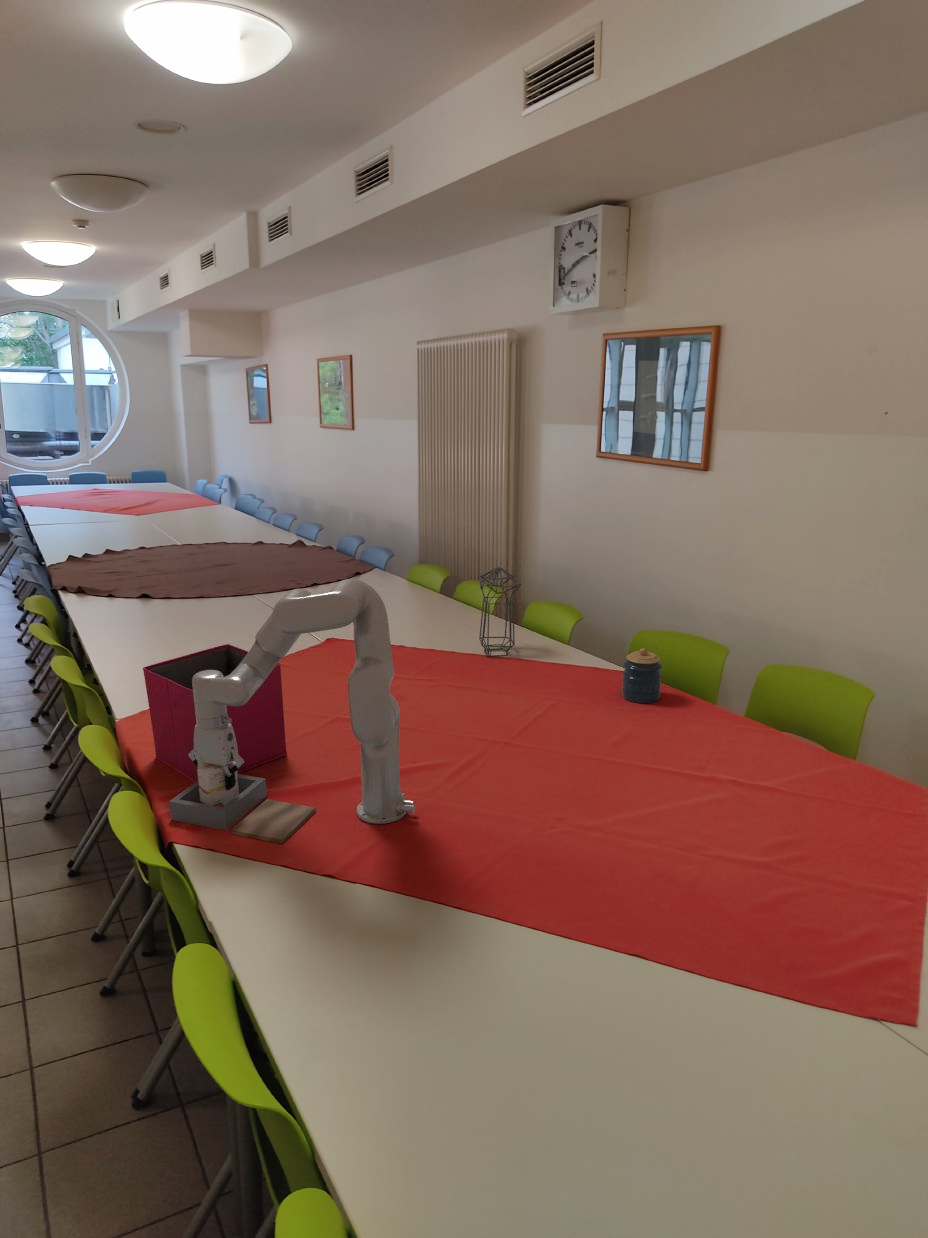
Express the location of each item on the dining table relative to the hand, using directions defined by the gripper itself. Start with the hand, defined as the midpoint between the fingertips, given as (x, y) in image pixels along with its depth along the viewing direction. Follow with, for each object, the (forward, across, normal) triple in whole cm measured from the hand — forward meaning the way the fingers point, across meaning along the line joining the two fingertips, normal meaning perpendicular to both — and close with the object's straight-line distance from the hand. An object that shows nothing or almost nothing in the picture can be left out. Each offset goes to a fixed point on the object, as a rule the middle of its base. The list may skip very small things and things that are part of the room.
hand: (218, 785), depth 207 cm
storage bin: (+7, +17, -25) cm, 31 cm away
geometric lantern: (+7, -32, -142) cm, 146 cm away
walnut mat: (+6, -17, +2) cm, 18 cm away
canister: (+7, -92, -111) cm, 144 cm away
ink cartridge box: (+6, 0, 0) cm, 6 cm away
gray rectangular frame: (+6, 0, 0) cm, 6 cm away
